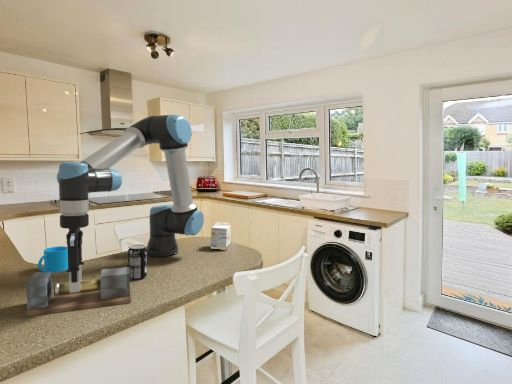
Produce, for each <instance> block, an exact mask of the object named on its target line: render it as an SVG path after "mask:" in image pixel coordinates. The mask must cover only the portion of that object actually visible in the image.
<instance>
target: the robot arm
mask: <svg viewBox="0 0 512 384" xmlns="http://www.w3.org/2000/svg"><path fill="white" fill-rule="evenodd" d="M191 126H192V125H191V124H190V122H189V121H188V119H186V117H185V116H183V115H180V114H163V115H150V116H147V117H144V118H142V119H141V120H139V121H137V122H135V123H133V124H132V125H130V126H129V127H126V130H125V132H124V133H122V134H121V135H119V136H118V137H117V138H115V139H114V140H111V141H110V142H109V143H107V144H106V145H104V146H103V147H101V148H99V149H98V150H96V151H95V152H93V153H92V154H90V155H89V156H87V157H85V158H84V159H82V160H81V161H80V162H75V161H73V162H71V161H70V162H69V161H65V162H63V161H62V162H60V164H59V165H58V172H57V174H56V181H57V183H58V194H59V195H58V196H59V202H58V203H57V204H56V206H57V207H59V213H60V216H59V227H60V228H61V229H68V232H67V233H66V235H65V237H66V247H67V248H68V269H67V270H65V272H66V273H69V274H68V277H69V278H68V279H69V280H68V281H69V288H70V293H73V292H80V281H83V280H82V279H83V278H82V275H83V274H82V273H83V272H82V271H83V270H82V269H83V268H82V266H83V265H85V261H83V256H82V255H83V254H82V253H83V252H82V251H83V248H82V247H83V236H84V231H83V230H81V229H82V228H86V227H88V226H89V225H90V223H89V222H90V220H89V219H90V217H89V216H90V215H89V214H88V212H90V211H89V209H90V208H89V206H90V205H89V202H90V201H89V194H90V193H101V192H103V193H105V192H108V193H110V192H113V191H118V190H119V189H120V188H121V186H122V184H123V176H122V174H121V173H120V172H119V170H118V169H115V168H112V167H114V166H115V165H116V164H117V163H119V162H120V161H121V160H123V159H124V158H126V157H127V156H128V155H130V154H131V153H133V152H134V151H135V150H137V149H143V148H144V147H146V146H148V145H152V144H159V148H160V149H159V150H160V151H162V152H163V153H164V158H165V163H166V169H167V175H168V180H169V186H170V191H171V197H172V203H173V204H162V205H155V206H152V207H151V208H150V211H149V239H148V242H147V245H146V247H145V248H146V249H147V256H149V257H154V256H155V258H157V257H158V258H160V257H161V258H163V257H162V256H166V257H169V256H168V255H172V254H175V253H177V252H178V251H179V245H178V241H177V239H176V235H185V236H192V237H193V236H196V235H198V234H199V233H200V232H201V230H202V228H203V225H204V222H205V215H204V213H203V211H201V210H198V204H197V203H196V202H194V201H193V200H194V199H193V194H192V189H191V182H190V175H189V169H188V162H187V154H186V149H188V147H189V142H190V141H191V139H192V135H193V132H192V131H193V130H192V127H191ZM178 253H179V252H178ZM178 253H177V254H178ZM175 255H176V254H175ZM172 256H173V255H172Z"/></svg>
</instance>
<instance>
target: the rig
mask: <svg viewBox="0 0 512 384" xmlns="http://www.w3.org/2000/svg"><path fill="white" fill-rule="evenodd" d="M52 277H53V274H52V271H50V272H44V271H40V272H39V271H38V272H33V274H32V275H31V276H30V278H29V279H28V280H27V281H26V304H27V305H26V307H27V308H26V309H27V310H26V311H25V318H27V317H33V316H34V317H35V316H39V315H40V316H41V315H48V314H57V313H63V312H64V313H65V312H71V311H79V310H86V309H94V308H102V307H108V306H116V305H125V304H131V302H132V298H131V297H132V296H131V279H130V269H129V267H128V266H126V267H115V268H104V269H103V268H102V269H101V271H100V277H99V279H100V281H101V291H93V292H84V293H76V294H67V295H59V296H54V292H53V281H52V280H53V279H52Z"/></svg>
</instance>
